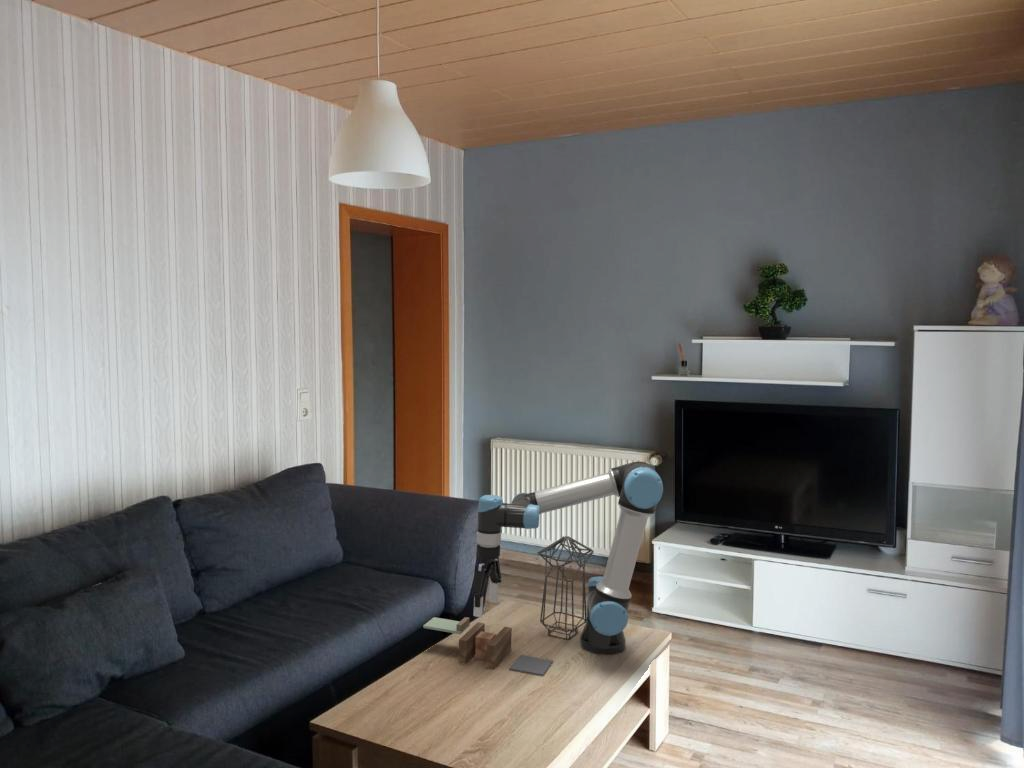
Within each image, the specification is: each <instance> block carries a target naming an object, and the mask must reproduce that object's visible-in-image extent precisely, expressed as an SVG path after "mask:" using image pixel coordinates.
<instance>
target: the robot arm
mask: <svg viewBox="0 0 1024 768" xmlns="http://www.w3.org/2000/svg"><path fill="white" fill-rule="evenodd" d="M663 493H664V484H663V480H662V478H661V477H660V475H659V474H658V472H657V471H656V470H655V468H654V467H653V466H652V465H651V464H649V463H647V462H645V461H640V460H639V461H632V462H629V463H625V464H621V465H619V466H615V467H611V468H610V469H609V471H608V472H605V473H600V474H596V475H594V476H589V477H586V478H581V479H578V480H574V481H571V482H568V483H564V484H559V485H555V486H551V487H547V488H544V489H541V490H536V491H533V492H529V493H528V492H520V493H517V494H516V495H515V496H514V497H513V499H512V501H511V503H507V502H504V501H503V498H502V496H500V495H495V494H484V495H482V496H481V497H479V500H478V509H477V532H476V533H475V534H476V536H477V537H476V543H477V544H476V552H475V553H476V556H477V558H480V563H477V564H476V566H475V567H476V570H475V574H474V580H473V585H472V590H471V593H470V594H471V597H474V598H473V617H477V618H483V613H484V612H483V609H484V608H483V607H484V595H483V593H484V590H485V587H486V586H485V585H486V582H487V580H488V578H489V580H490V582H489V595H488V596H489V597H488V602H489V603H492V604H493V603H494V604H498V601H499V600H498V599H499V584H501V583H502V572H501V567H500V556H501V545H500V544H502V543H501V540H502V528H515V529H526V530H529V529H534V530H535V529H538V528H539V525H540V515H541V514H544V513H549V512H553V511H557V510H561V509H564V508H568V507H573V506H575V505H579V504H583V503H586V502H587V503H588V502H591V501H596V500H600V499H603V498H607V497H611V496H616V497H617V498H619V499H618V501H617V505H618V506H619V508H620V513H619V516H618V517H619V518H618V521H617V524H616V528H615V532H614V537H613V540H612V543H611V547H610V551H609V555H608V558H607V563H606V566H605V569H604V572H603V576H592V577H590V578H589V579H588V581H587V596H586V598H587V599H586V623H585V624H584V626H583V629H582V631H581V635H580V638H579V641H580V642H579V645H580V647H581V648H582V649H584V650H586V651H588V652H591V653H594V654H600V655H614V654H619V653H621V652H623V651H624V650H625V649H626V643H627V642H626V641H627V640H626V637H625V633H624V630H625V628H626V627H627V625H628V621H629V614H628V610H629V608H630V603H631V600H632V593H631V590H629V589H630V585H631V581H632V579H633V574H634V570H635V566H636V562H637V559H638V556H639V551H640V547H641V544H642V541H643V537H644V534H645V530H646V526H647V522H648V519H649V518H650V517H652V516H653V515H655V512H656V508H657V505H658V503H659V502H660V501H661V498H662V497H663Z"/></svg>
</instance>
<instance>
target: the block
mask: <svg viewBox="0 0 1024 768" xmlns="http://www.w3.org/2000/svg"><path fill="white" fill-rule="evenodd" d="M496 635H497V634H496V633H493V632H488V631H487V632H486V631H485V632H482V631H481V632H480V633H479V634H478V635H477V636H476V645H475V655H474V658H475V659H478V660H479V659H480V660H485V661H487V644H488V643H489V642H490V641H491V640H492V639H493V638H494V637H495V636H496Z"/></svg>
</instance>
